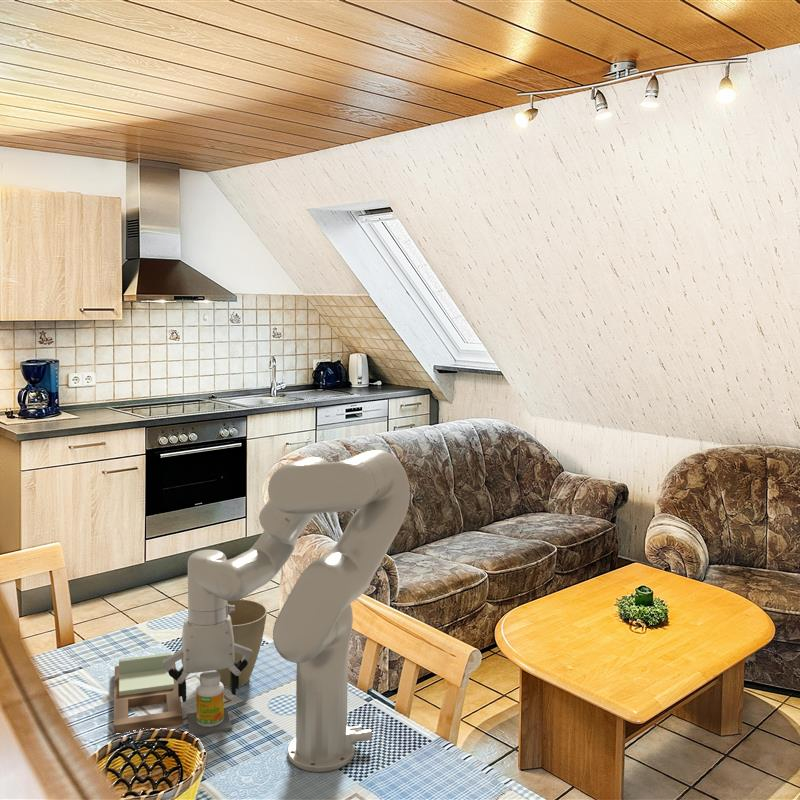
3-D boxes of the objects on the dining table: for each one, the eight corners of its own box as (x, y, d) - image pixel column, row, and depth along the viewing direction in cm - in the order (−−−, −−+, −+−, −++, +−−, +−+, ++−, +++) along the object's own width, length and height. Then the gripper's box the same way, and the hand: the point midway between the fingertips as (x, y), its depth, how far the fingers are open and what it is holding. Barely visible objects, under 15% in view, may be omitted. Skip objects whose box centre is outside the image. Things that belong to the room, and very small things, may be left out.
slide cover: (171, 669, 177) (171, 652, 176) (174, 688, 169) (173, 670, 168) (119, 676, 173) (118, 659, 173) (119, 696, 165) (118, 677, 164)
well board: (174, 667, 183) (174, 658, 182) (182, 724, 158) (182, 715, 158) (114, 674, 178) (114, 666, 178) (113, 735, 154) (113, 725, 154)
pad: (226, 710, 164) (226, 707, 164) (231, 730, 157) (231, 727, 157) (187, 716, 162) (186, 713, 161) (190, 736, 154) (190, 734, 154)
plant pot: (186, 691, 172) (185, 620, 170) (217, 661, 186) (217, 596, 184) (250, 700, 168) (249, 628, 166) (277, 669, 183) (277, 603, 181)
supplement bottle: (196, 729, 156) (196, 682, 155) (196, 715, 161) (195, 669, 160) (224, 725, 157) (224, 679, 156) (223, 712, 162) (223, 667, 161)
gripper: (249, 602, 163) (249, 681, 165) (161, 611, 157) (162, 692, 159) (254, 615, 156) (255, 698, 158) (163, 626, 150) (164, 711, 152)
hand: (208, 695), depth 158 cm, fingers open, 9 cm apart
